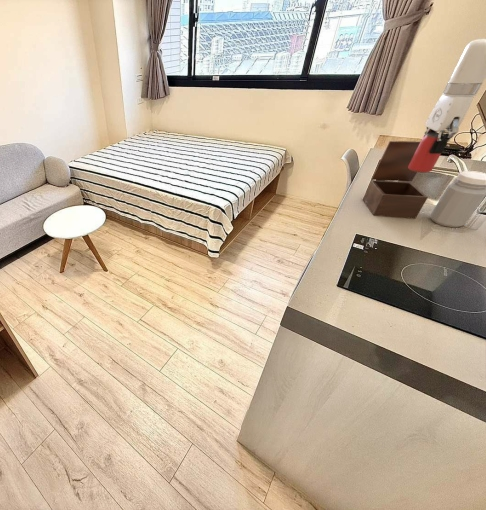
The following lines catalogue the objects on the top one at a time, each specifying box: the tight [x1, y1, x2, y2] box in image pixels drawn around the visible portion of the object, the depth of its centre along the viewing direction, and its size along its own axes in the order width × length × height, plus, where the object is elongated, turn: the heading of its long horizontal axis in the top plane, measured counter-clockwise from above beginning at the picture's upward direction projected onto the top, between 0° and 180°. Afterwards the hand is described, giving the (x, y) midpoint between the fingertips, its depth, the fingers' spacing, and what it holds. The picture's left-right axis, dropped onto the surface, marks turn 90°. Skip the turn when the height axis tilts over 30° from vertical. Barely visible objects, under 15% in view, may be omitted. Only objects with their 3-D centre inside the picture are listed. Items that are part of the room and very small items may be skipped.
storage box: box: [362, 179, 429, 219], centre depth 111 cm, size 15×14×9 cm
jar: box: [430, 170, 486, 228], centre depth 98 cm, size 10×10×18 cm
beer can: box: [408, 132, 446, 174], centre depth 95 cm, size 7×7×12 cm
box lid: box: [371, 140, 421, 182], centre depth 110 cm, size 16×14×5 cm
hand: (429, 149), depth 94 cm, fingers closed on beer can, 6 cm apart
